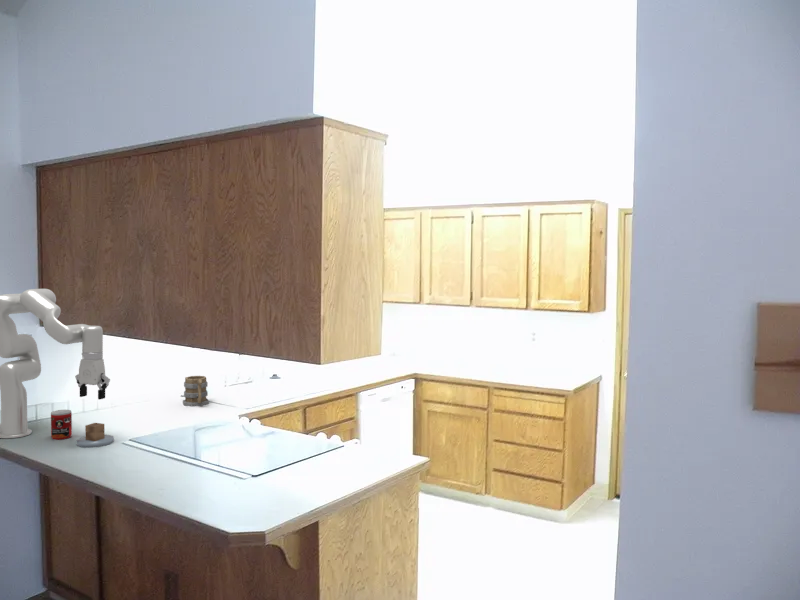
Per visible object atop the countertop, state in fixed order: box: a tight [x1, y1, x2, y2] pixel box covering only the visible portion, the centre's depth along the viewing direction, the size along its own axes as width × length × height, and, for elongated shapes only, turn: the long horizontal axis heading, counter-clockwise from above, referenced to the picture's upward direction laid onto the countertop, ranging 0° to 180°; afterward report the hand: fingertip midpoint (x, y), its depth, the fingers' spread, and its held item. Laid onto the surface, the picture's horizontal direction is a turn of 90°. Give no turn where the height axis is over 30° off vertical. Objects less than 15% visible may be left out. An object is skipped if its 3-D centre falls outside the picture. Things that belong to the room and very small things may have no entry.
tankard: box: [182, 375, 210, 407], centre depth 335 cm, size 20×13×15 cm, turn 25°
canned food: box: [50, 409, 73, 441], centre depth 271 cm, size 8×8×11 cm
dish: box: [75, 434, 115, 449], centre depth 264 cm, size 14×14×2 cm
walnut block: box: [84, 422, 106, 441], centre depth 264 cm, size 5×5×6 cm
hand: (92, 397), depth 263 cm, fingers open, 9 cm apart
